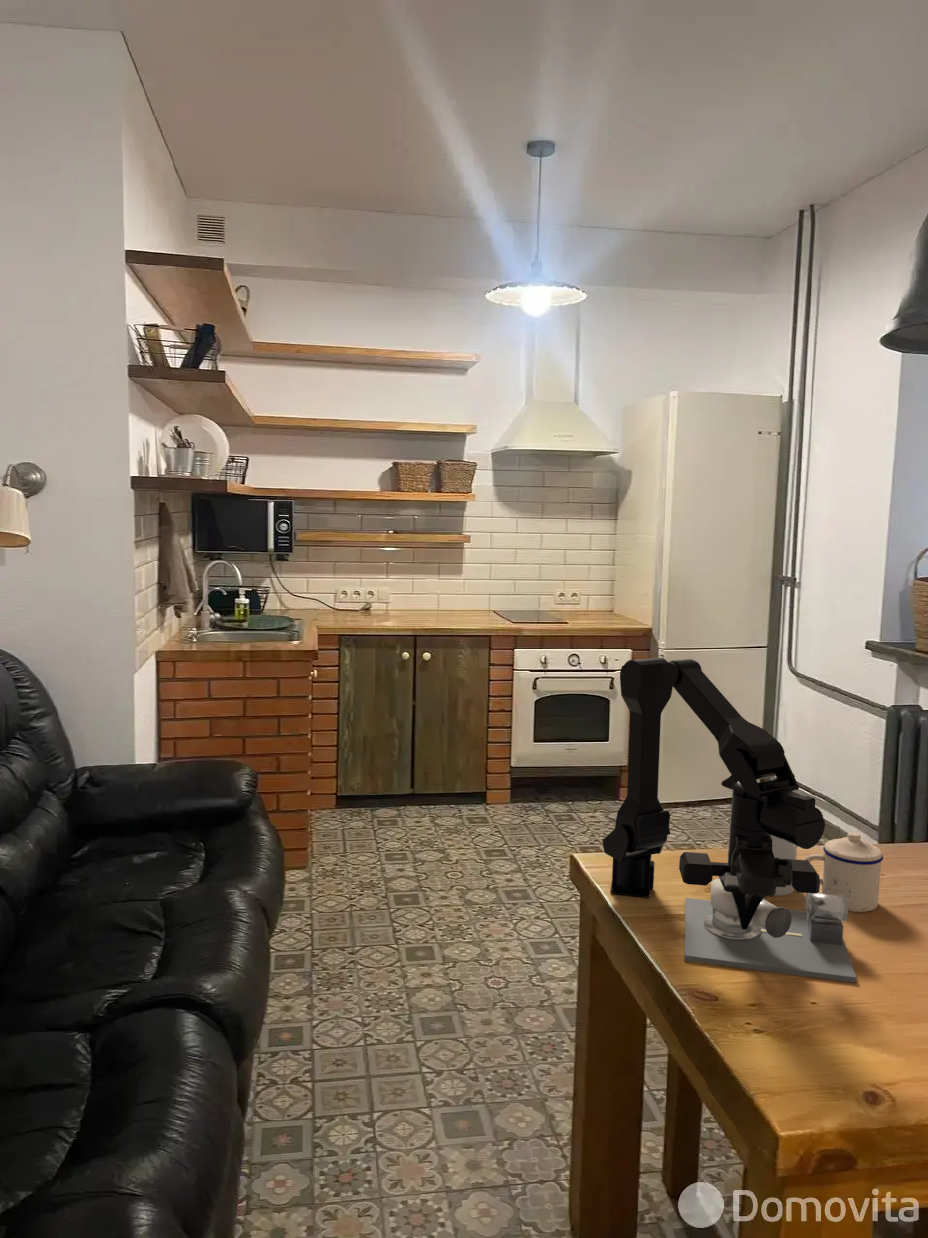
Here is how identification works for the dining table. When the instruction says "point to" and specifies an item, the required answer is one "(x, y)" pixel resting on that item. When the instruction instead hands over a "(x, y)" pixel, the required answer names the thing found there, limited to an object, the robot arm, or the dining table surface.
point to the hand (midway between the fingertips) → (743, 928)
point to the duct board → (765, 948)
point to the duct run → (826, 917)
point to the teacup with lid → (851, 871)
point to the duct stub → (730, 926)
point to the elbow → (765, 914)
